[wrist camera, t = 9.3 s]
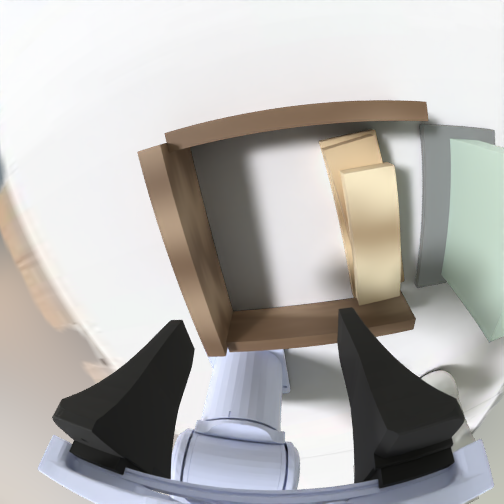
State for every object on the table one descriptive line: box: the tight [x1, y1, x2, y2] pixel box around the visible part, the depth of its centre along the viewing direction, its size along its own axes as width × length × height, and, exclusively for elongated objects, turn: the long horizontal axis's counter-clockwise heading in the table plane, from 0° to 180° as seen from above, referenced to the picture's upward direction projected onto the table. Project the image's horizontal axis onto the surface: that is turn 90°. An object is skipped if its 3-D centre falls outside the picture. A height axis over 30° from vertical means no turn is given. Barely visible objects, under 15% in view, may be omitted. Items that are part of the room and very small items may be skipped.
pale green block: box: [441, 139, 504, 342], centre depth 14 cm, size 12×3×9 cm, turn 11°
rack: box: [138, 100, 428, 357], centre depth 18 cm, size 17×17×5 cm
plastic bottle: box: [421, 370, 479, 504], centre depth 20 cm, size 6×7×20 cm
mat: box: [415, 124, 495, 288], centre depth 18 cm, size 14×8×1 cm, turn 11°
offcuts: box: [319, 129, 404, 306], centre depth 18 cm, size 13×4×4 cm, turn 19°
